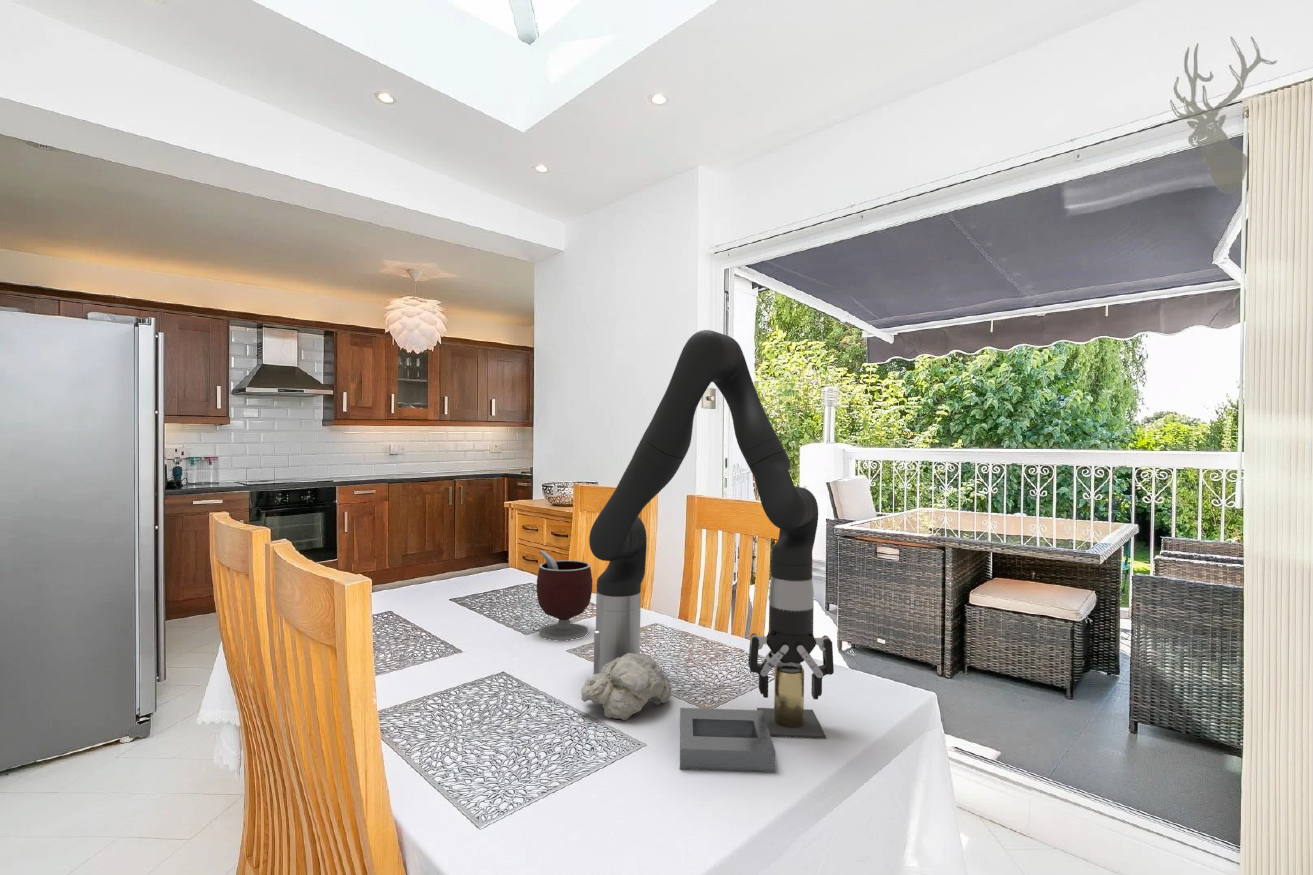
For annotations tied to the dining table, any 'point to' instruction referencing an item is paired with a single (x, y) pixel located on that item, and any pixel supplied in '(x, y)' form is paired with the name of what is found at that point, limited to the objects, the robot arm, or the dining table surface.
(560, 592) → the mate gourd
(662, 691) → the mineral
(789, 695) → the tan cylinder
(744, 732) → the block
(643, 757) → the dining table surface
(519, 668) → the dining table surface
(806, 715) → the mat
